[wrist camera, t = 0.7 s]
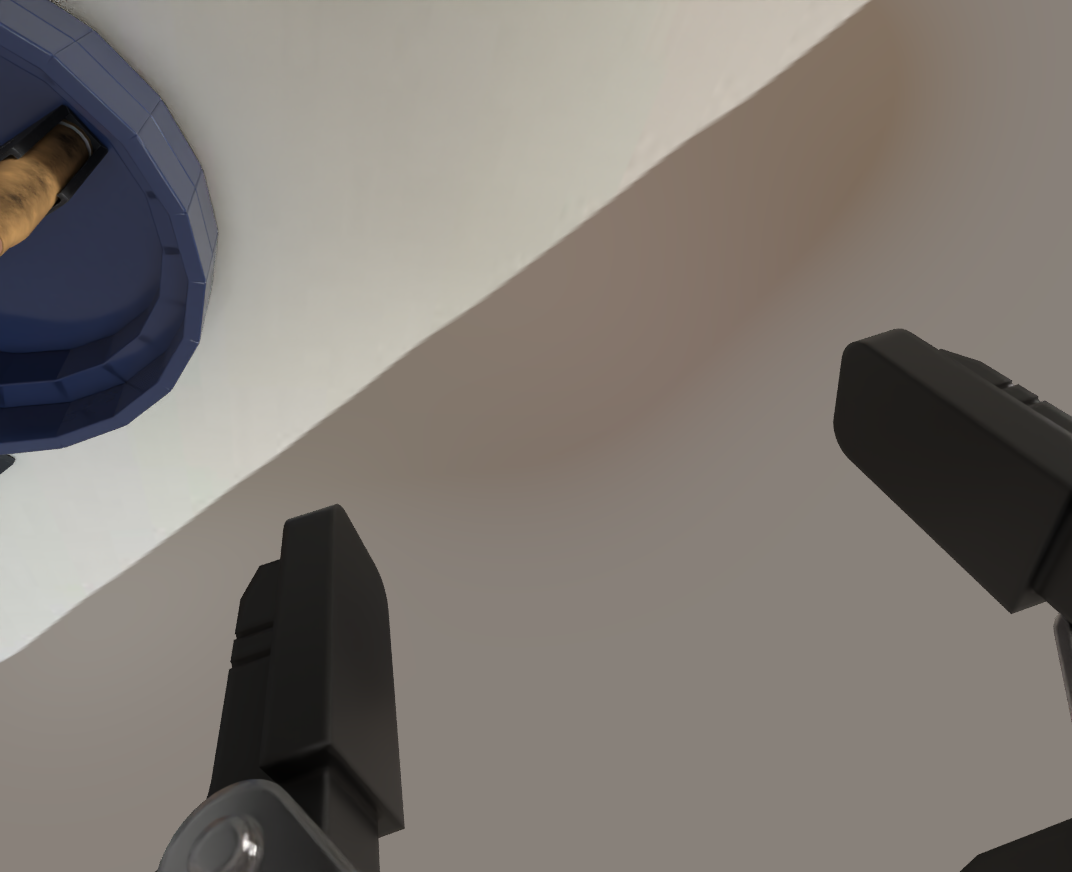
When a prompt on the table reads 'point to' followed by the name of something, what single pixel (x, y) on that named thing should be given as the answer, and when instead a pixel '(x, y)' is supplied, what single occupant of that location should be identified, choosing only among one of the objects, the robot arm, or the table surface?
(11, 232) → the ammunition clip
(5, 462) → the desk mat
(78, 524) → the table surface
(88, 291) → the bowl
